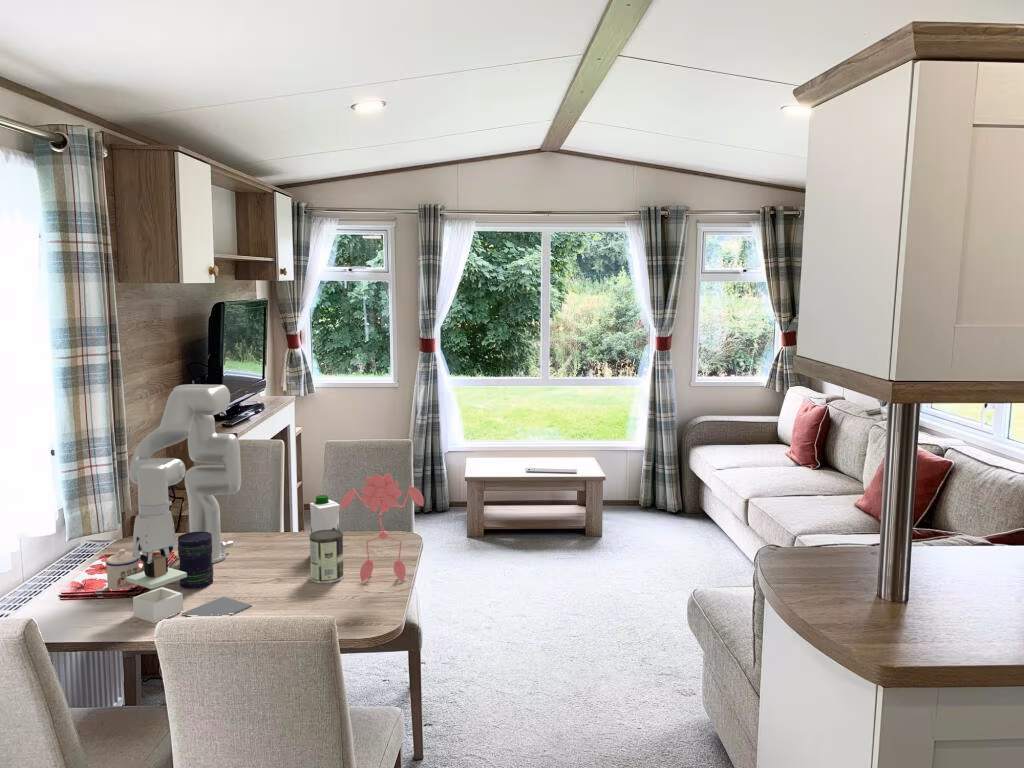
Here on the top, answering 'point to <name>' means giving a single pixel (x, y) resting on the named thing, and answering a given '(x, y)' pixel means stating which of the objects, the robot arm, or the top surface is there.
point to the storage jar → (196, 560)
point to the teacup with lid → (121, 569)
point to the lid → (157, 574)
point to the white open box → (157, 604)
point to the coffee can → (326, 556)
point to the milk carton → (324, 514)
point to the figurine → (382, 496)
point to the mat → (219, 607)
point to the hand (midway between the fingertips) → (156, 573)
